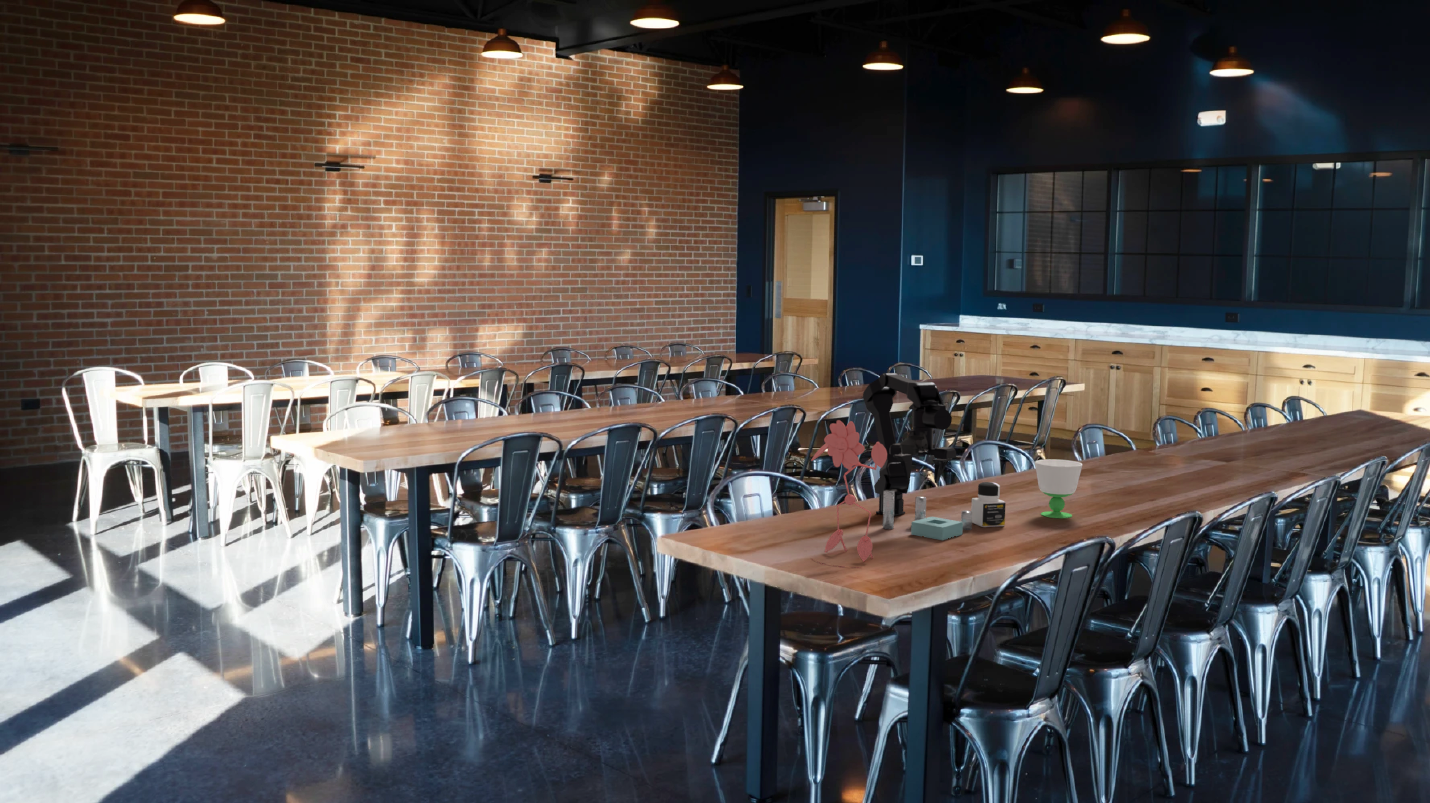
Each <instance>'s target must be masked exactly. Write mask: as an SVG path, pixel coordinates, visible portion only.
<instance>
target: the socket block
mask: <svg viewBox="0 0 1430 803" xmlns="http://www.w3.org/2000/svg"><path fill="white" fill-rule="evenodd" d="M910 526H911V528H910V530H911V531H910V532H911V533H910V534H911V535H912V536H913V535H914V536H918V537H922V536H924V538H928V539H934V540H939V541H945V540H948V538H949V539H952V538H955V537H954V536H956V537H958V536H962V535H963V531H964V530H963V522H961V520H960V521H959V520H954V519H953V520H952V519H948V518H942V517H937V516H928V517H926V518H924V519H920V520H917V521H915V520H913V521H911V525H910ZM951 537H952V538H951Z"/></svg>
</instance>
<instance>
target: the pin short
mask: <svg viewBox="0 0 1430 803" xmlns="http://www.w3.org/2000/svg"><path fill="white" fill-rule="evenodd" d="M960 513H961V514H960V515H961V516H960V522H963V531H972V529H973V523H972V511H971V510H961V511H960Z"/></svg>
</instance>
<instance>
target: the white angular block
mask: <svg viewBox="0 0 1430 803" xmlns="http://www.w3.org/2000/svg"><path fill="white" fill-rule="evenodd" d="M977 486H978V487H977V497H972V498H971V510H970V511H972V524H975V525H976V526H980V527H982V528H990V527H993V528H994V527H995V528H996V527H1005V525H1006V523H1005V522H1006V504H1007V503H1006V501H1004V500H1002V499H1000V493H1001V491H1000V490H1001V485H1000V484H998V483H996V482H993V481H984V482H983V481H982V482H980V483H978V485H977Z"/></svg>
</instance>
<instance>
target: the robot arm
mask: <svg viewBox="0 0 1430 803" xmlns="http://www.w3.org/2000/svg"><path fill="white" fill-rule="evenodd" d="M898 392H899V393H901V394H904V395H906V398H907V399H908V400H909V401H910V402H912V404H911V405H909V407H908V409H909V410H912V429H911V430H909V434H908V435H909V436H908V437H906V438H905V439H903V440H902V441H901V442H897V443H896V437H895V433H894V432H895V431H894V428H893V422H892V419H891V418H892V417H891V410H892V408H893V405H894V398H895V396H896V395H897V393H898ZM862 398H863V401H864V404H865V408H866V410H867V411H868V412H869V413H870V414H871V415H872V417H873V421H874V425H875V430H876V435H877V440H878V441H877V442H879V443H880V444H883V446H884V447H885V448H886V451H887V460H886V462H885V463H884V465H883V467H882V468H880V467H879V468H880V469H879V472H878V473H879V478H878V479H877V481H876V482H875V483H874V484H873V488H874V493H875V494H878V495H879V496H878V499H879V500H878V502H879V503H878V510H877V511H875V513H876V514H877V515H883V499H884V491H886V490H891V491H894V517H896V516H900V515H904V514H906V511H904V504H905V503H904V502H905V501H904V498H903V496H904V495H903V494H908V492H909V491H908V490H909V486H910V483H911V476H912V466H913V456H916V455H926V456H927V455H928V456H933V457H934V459H932V462H933V464H934V473H933V474H934V477H933V478H934V479H933V480H934V484H938V483H939V481H940V479H941V476H942V474H943V473H944V469H945V468H946V466H947V465H948V463H949V462H950V461H953V459H956V458H957V451H956V449H955V448H954V447H949V446H948V447H947V446H941V447H936V444H935V443H934V434H936V430H941V431H944V430H946V429H948V428H949V427H951V424H952V421H953V418H952V416H951V413H950V411H949V410H947V409H946V408H947V407H946V405H945V404H944V403H943V402H944V401H943V399H942V396H941V394H940V392H939V389H938V387H937V385H936V384H935V382H933V381H916V380H913V379H911V378H907V377H905V376H902V375H899V374H898V373H896V372H887V373H886V372H885V373H882V374H880V376H879V377H878V378H876V379H875V380H873V381H871V383H869V384H868V385H867V387H866V388H865V389H864V391H863V393H862Z"/></svg>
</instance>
